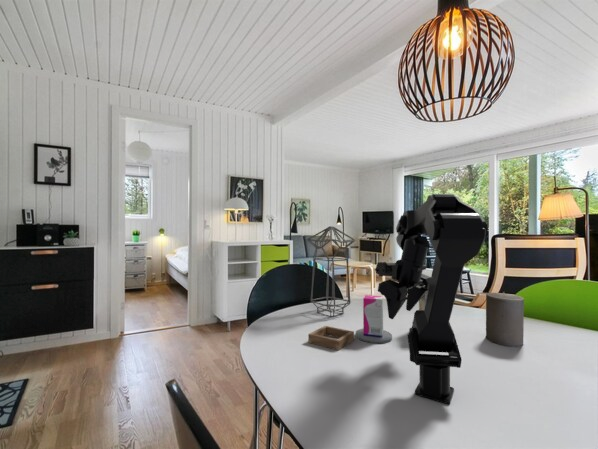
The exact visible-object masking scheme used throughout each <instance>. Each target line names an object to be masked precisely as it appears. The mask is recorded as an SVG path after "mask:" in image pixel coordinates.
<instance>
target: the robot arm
mask: <svg viewBox="0 0 598 449" xmlns="http://www.w3.org/2000/svg"><path fill="white" fill-rule="evenodd" d="M488 229H489V228H488V223H487V222H486V220H485V219H484V217H483V215H481V213H480V211H479V210H478V209H477V208H475V207H473V206H471V205H469V204H468V203H465V202H464V201H462V200H461V198H460V197H459V196H458V195H457V194H454V193H432V194H429V195H428V196H427V199H426V201H425V202H423V203H422V204H421V205H420V206H419V207H418V208H417V209H413V210H412V209H409V210H408V209H407V210H405V211H403V214H402V215H401V216H400V218H399V219H398V221H397V225H396V228H395V230H396V234H397V236H396V240H395V241H396V243H397V246H399V248H400V249H401V250H402V252H401V257H400V259H398V260H396V261H395V262H387V261H378V262H377V263H376V265H375V269H374V271H375V273H376V274H378V277H391V279H386V280H382V281H381V282H380V283H378V285H377V286H378V287H377V292H378V293H380V294H381V295H382V296H383V297H384V298H385V301H386V306H387V312H388V313H387V314H388V318H389V319H391V320H394V319H395V317H396V316H397V314H398V313H399V311H400V310H401V308H402V307H403V305H404V303H405V302H406V304H405V306H406V308H405V310H406V311H407V312H411V311H412V310H413V308H414V307H415V306H416V305H417V303H419V300H420V299H421V298H422V297H423V296H424V295H425V294H426V292H427V291H428V295H427V300H426V305H425V310H419V309H417V310H415V311H414V314H413V320H412V324H411V325H412V326H411V327H409V330H408V333H407V343H408V350H409V361H410V362H411V363H413V364H414V365H415V366H419V382H418V384H417V386H416V388H415V389H414V394H415V395H416V396H421V397H423V398H427V399H430V400H434V401H437V402H441V403H444V404H446V405H447V404H451V402H452V398H453V395H454V392H455V387H453V386H451V368H458V369H459V368H461V366H462V356H461V352H460V350H459V349H460V348H459V347H458V346H459V345H458V343H457V339H456V334H455V332H454V329H453V328H452V326H451V322H450V320H451V315H452V312H453V308H454V305H455V301H456V297H457V294H458V289H459V287H460V282H461V278H462V274H463V270H464V267H465V265H466V264H467V263H469V262H470V261H471V260H472V259H473V258H475V257H476V256H478V255H479V253H480V251H481V249H482V246H483V244H484V242H485V240H486V239H487V237H488V234H489V230H488ZM427 236H428V237H427ZM428 239H429V240H428ZM430 245H431V246H430ZM430 247H432V248H433V250H434V253H435V257H434V262H433V267H432V271H431V272H432V273H431V276H430V275H426V274H424V273H423V271H425V270H426V269H427V267H428V266H427V265H426V264H425V262H426V258H427V253H428V250H429V248H430ZM424 286H425V287H424ZM420 352H429V353H420ZM431 352H432V353H431ZM433 353H446V354H433Z"/></svg>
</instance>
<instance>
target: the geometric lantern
mask: <svg viewBox="0 0 598 449" xmlns="http://www.w3.org/2000/svg"><path fill="white" fill-rule="evenodd" d="M321 233H322V234H321ZM341 234H342V235H343V236H345V237H348V238H349V239H345V238H344V237H343V236H342V235H341ZM318 235H319V237H318V238H317V239H312V238H315V237H316V236H318ZM333 236H334V239H333ZM326 237H327V238H326ZM341 239H342V240H341ZM306 241H308V242H309V243H310V244H311V245H312V246H313V247H314V248H315V250H314V253H313V257H312V276H311V277H312V278H311V293H310V301H309V302H310V303H312V304H313V305H314V306H315V307H316V313H317V314H319V315H323V316H325V315H326V317H329V318H334V317H337V316H340V315H343V314H344V313H345V312H344V309H346V308H347V307H348V306H350V305H351V303H352V302H351V289H350V275H349V274H350V273H349V272H350V271H349V270H350V269H349V256H348V255H349V254H348V247H350V246H351V245H352V244H353V243H355V242H357V239H355V238H353V237H351V236H350V235H348V234H346V233H345V232H343V231H342V230H340V229H338V228H336V226H328V227H326V228H324V229H322V230H321V231H319V232H318V233H316V234H314V235H312V236H310V237H308V238H306ZM330 242H332V243H333V244H335V245H336V246H337V247H338V248H337V249H336V251H335V253H334V254H333V256H332V257H330V256H329V255H328V254H327V253H326V251H325V249H324V247H325V246H327V245H329V243H330ZM339 243H340V245H339ZM343 244H345V246H343ZM319 249H320V250H322V252H323V254H324V255H325V257H317V253H318V250H319ZM339 251H343V253H344V258H341V257H335V256H336V255H337V253H338V252H339ZM317 260H318V261H326V262H327V269H326V270H327V273H326V274H327V275H326V290H325V296H322V297H319V298H313V294H314V281H315V271H316V261H317ZM342 261H343V262H344V261H345V262H346V276H347V279H346V280H347V299H343V298H341V297H340V298H339V297H336V291H335V287H336V286H335V265H334V264H335V262H342ZM330 262H331V271H332V272H331V296H329V291H330V290H329V287H330V283H329V282H330V281H329V280H330ZM323 299H326V304H324V303H321V302H318V300H323ZM329 299H330V302H329ZM336 300H338V301H343V303H337V304H336ZM332 302H333V304H332ZM316 304H317V305H320V306H317V305H316ZM324 307H326V308H324ZM332 307H333V308H332ZM335 308H337V309H335ZM319 309H320V310H319ZM323 311H327V312H330V313H329V314H330V315H329V314H324V313H321V312H323ZM335 312H340V313H337V314H335Z"/></svg>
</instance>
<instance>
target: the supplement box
mask: <svg viewBox="0 0 598 449" xmlns="http://www.w3.org/2000/svg"><path fill="white" fill-rule="evenodd" d="M362 304H363V307H362V308H363V314H362V315H363V316H362V317H363V318H362V319H363V328H362V329H363V335H364V336H373V337H383V330H384V295H382V296H381V295H368V294H365V295H364V297H363V303H362Z"/></svg>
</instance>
